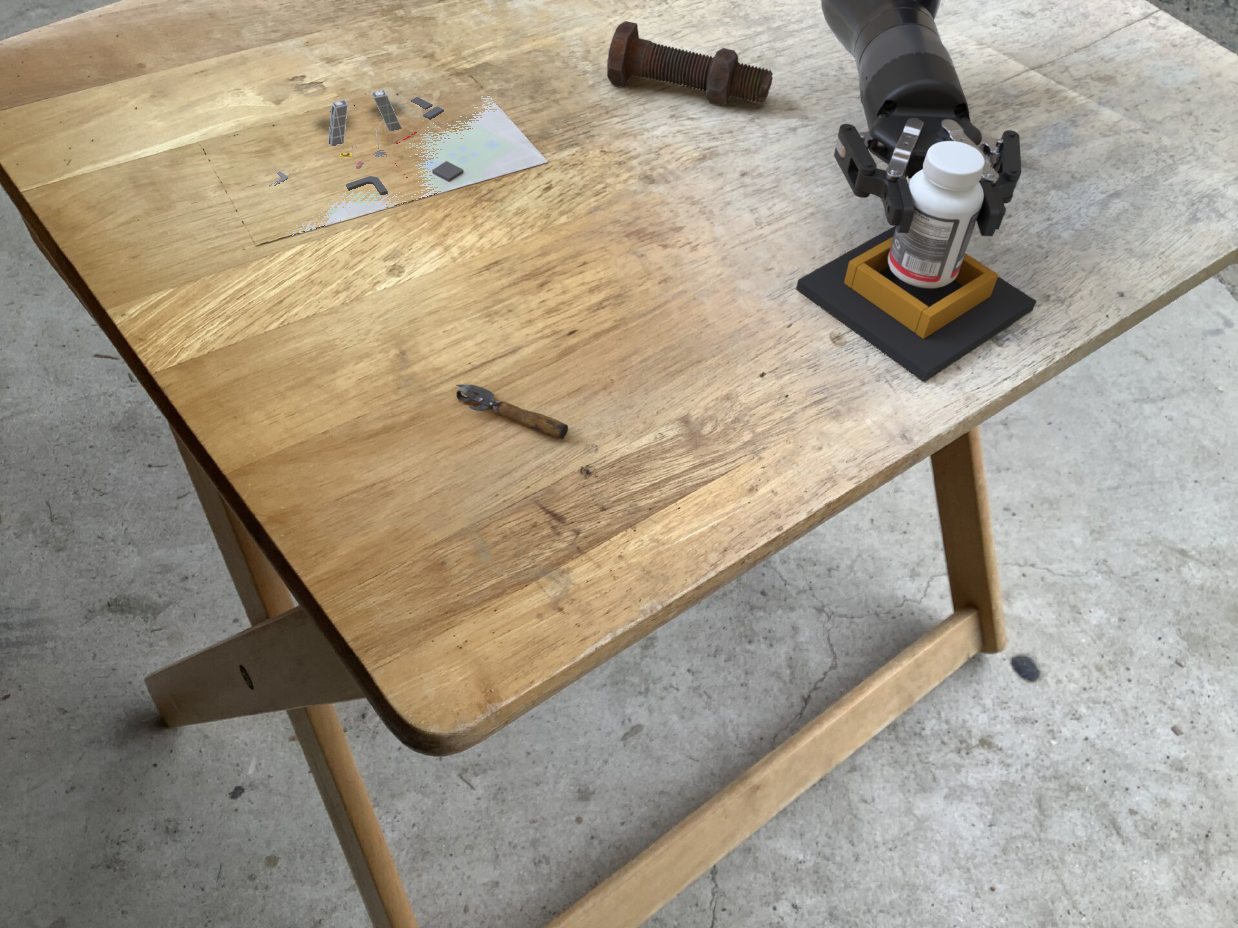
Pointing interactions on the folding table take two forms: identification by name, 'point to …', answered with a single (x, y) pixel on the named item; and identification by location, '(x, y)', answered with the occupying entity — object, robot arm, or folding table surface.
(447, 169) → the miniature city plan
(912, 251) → the pill bottle
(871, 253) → the dock
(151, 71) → the folding table surface
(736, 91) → the bolt
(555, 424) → the can opener
